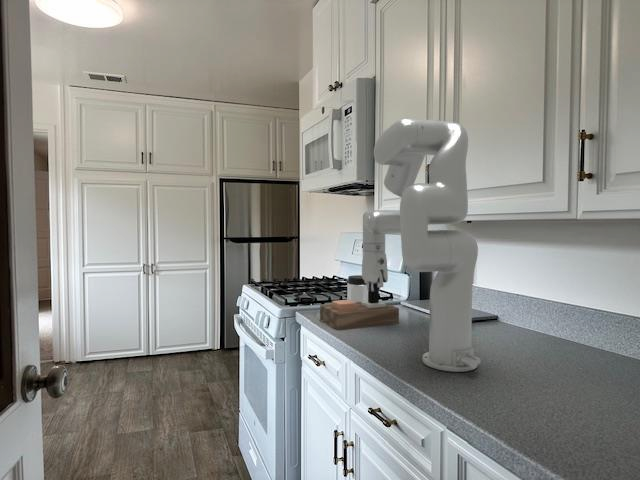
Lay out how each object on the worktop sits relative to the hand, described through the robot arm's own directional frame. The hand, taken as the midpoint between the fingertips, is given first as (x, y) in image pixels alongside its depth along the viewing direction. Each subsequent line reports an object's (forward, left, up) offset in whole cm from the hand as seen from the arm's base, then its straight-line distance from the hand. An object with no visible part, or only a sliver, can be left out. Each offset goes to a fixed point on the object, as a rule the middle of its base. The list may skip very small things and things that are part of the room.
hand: (373, 302), depth 143 cm
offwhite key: (0, 0, -4) cm, 4 cm away
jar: (+19, -4, -6) cm, 20 cm away
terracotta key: (0, +11, -3) cm, 11 cm away
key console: (0, +6, -6) cm, 8 cm away
